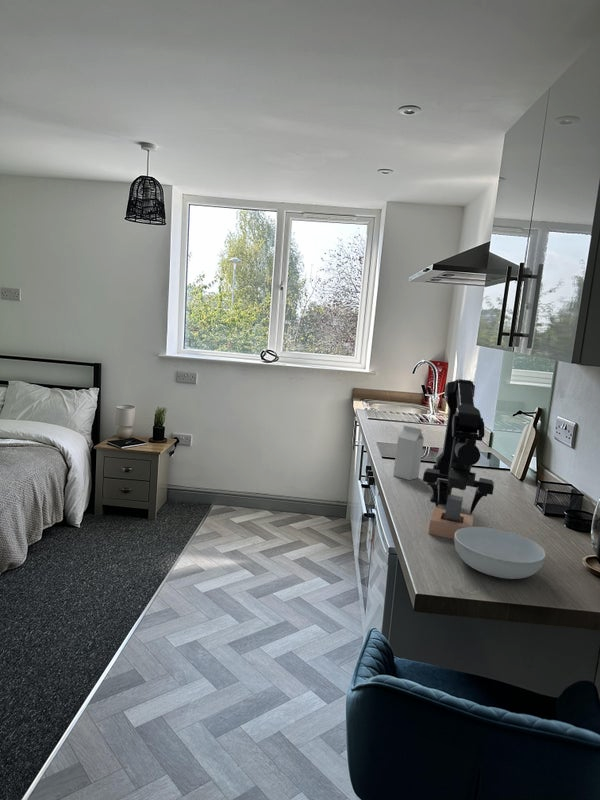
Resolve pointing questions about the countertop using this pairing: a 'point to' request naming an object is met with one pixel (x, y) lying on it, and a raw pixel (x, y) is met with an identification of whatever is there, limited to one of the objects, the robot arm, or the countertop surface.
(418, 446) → the milk carton
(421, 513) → the countertop surface
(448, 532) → the orange square socket block
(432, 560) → the countertop surface
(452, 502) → the tall grey square pillar
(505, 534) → the serving bowl
